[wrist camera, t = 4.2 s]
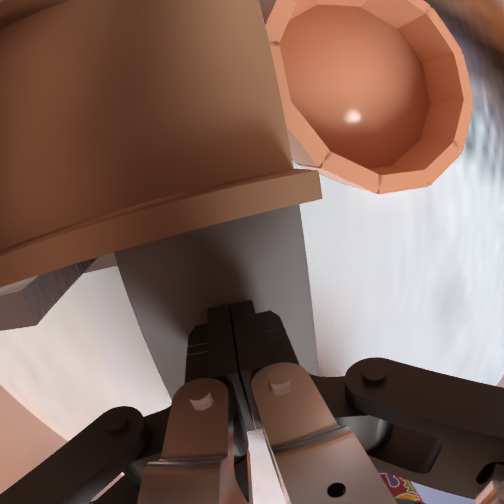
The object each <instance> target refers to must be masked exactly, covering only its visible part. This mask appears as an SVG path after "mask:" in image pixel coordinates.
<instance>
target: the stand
mask: <svg viewBox="0 0 504 504" xmlns="http://www.w3.org/2000/svg"><path fill="white" fill-rule="evenodd" d="M117 265H118V264H117V261H116V258H115V255H114V252H113V253H110V254H106V255H103V256H99V257H96V258H93V259H89V260H86V261H82V262H79V263H76V264H73V265H69V266H66V267H63V268H60V269H56V270H53V271H50V272H47V273H44V274H40V275H37V276H34V277H31V278H28V279H25V280H22V281H19V282H16V283H13V284H10V285H7V286H4V287H1V288H0V331H1V330H8V329H15V328H22V327H29V326H35V325H37V324H38V323H39V322H40V320H41V319H42V318H43V317H44V316H45V315H46V313H47V312H48V311H49V310H50V309H51V308H52V307H53V305H54V304H55V303H56V302H57V301H58V300H59V299H60V298H61V297H62V295H63V294H64V293H65V292H66V291H67V290H68V289H69V288H70V287H71V286H72V285H73V283H74V282H75V281H76V280H77V279H78V278H79V277H80V276H81V275H82V274H83V273H86V272H91V271H95V270H99V269H104V268H108V267H113V266H117Z"/></svg>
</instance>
